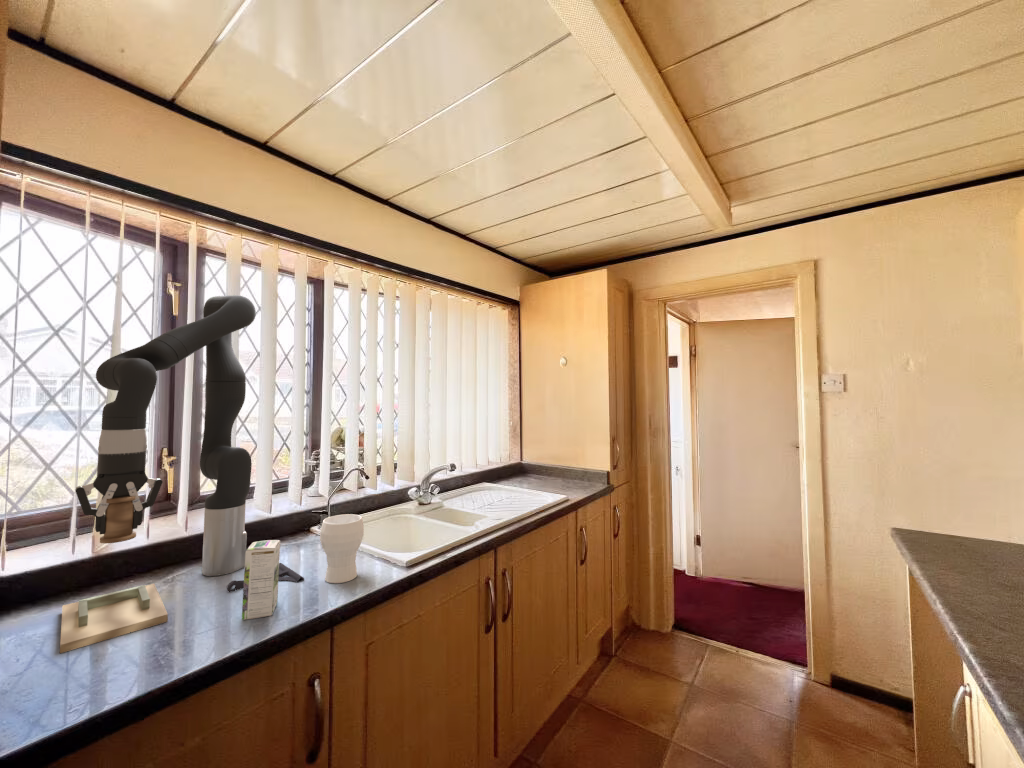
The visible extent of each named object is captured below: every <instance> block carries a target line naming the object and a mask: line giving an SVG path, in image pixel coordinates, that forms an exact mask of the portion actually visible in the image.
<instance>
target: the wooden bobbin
mask: <svg viewBox="0 0 1024 768" xmlns="http://www.w3.org/2000/svg"><path fill="white" fill-rule="evenodd" d="M101 499H102V500H103V498H102V497H101ZM133 500H135V496H131V497H130V496H127V497H118V498H112V499H106V503H109V505H108V506H107V509H106V511H105V513H104V514H105V516H106V518H105V534H103V535H102V536H100V537H99V543H100V544H114V543H115V544H116V543H121V542H127V541H129V540H133V539H136V537H137V531H134V529H133V517H134V505H133V502H132V501H133Z"/></svg>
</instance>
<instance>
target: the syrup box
mask: <svg viewBox="0 0 1024 768" xmlns="http://www.w3.org/2000/svg"><path fill="white" fill-rule="evenodd" d="M280 549H281V540H279V539H267V540H265V539H264V540H259V541H253V542H251V544H250V545H249V546H248V548H246V553H245V567H244V574H243V580H244V587H243V588H242V589H243V591H242V610H241V620H242V621H245V620H252V619H253V620H254V619H258V618H264V617H270V616H271V617H272V616H273V614H274V612H275V610H276V608H277V607H276V606H277V605H278V596H279V595H278V594H279V581H278V578H279V563H280V555H281V550H280Z"/></svg>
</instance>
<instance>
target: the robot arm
mask: <svg viewBox="0 0 1024 768" xmlns="http://www.w3.org/2000/svg"><path fill="white" fill-rule="evenodd" d="M202 310H203V313H202V314H203V318H200V319H198V320H195V321H192V322H189V323H187V324H184V325H183V324H182V325H181V326H177V327H175V328H173V329H170V330H168V331H166V332H164V333H162V334H161V335H158V336H157V337H155V338H153V339H151V340H150V341H148V342H146V343H145V344H143V345H140V346H138V347H135V348H132V349H129V350H126V351H125V352H121V353H119V354H115V355H114V356H112V357H109V358H108V359H106V360H104V361H103V362H102V363H101V364H100V365H99V366H98V368H97V369H96V372H95V378H96V381H97V383H98V384H99V385H100V386H101V387H103V388H104V389H107V390H111V391H115V392H117V394H116V397H115V400H113V401H110V402H108V403H107V404H105V405H104V406H103V408H102V414H101V432H100V436H99V438H98V447H97V451H98V452H97V455H98V456H97V465H96V466H97V470H96V471H97V472H96V477H95V479H94V480H93V482H92V483H88V484H85V485H78V486H76V487H75V493H76V497H77V499H78V501H79V504H80V507H81V510H82V513H83V514H84V516H94V517H95V522H94V529H95V532H96V533H99V535H104V534H105V518H106V516H105V511H106V509H107V506H108V505H109V503H106V499H112V498H118V497H127V496H130V497H131V496H135V500H133V501H132V502H133V505H134V517H133V530H137V529H138V527H139V526H141V525H142V522H143V511H144V510H145V509H148V508H150V507H153V506H154V504H155V502H156V500H157V497H158V494H159V493H160V489H161V487H162V485H163V480H162V479H161V478H159V477H158V478H153V477H152V478H151V477H148V476H147V474H146V465H147V464H146V462H147V461H146V459H147V458H146V457H147V456H146V455H147V448H148V445H147V441H148V439H147V412H148V411H147V410H148V408H149V406H150V403H151V401H152V398H153V396H154V393H155V390H156V387H157V383H158V374H157V372H158V371H163V370H167V369H168V370H169V369H171V368H172V367H174V366H176V365H177V364H179V363H180V362H182V361H183V360H185V359H186V358H188V357H189V356H191V355H193V354H194V353H196V352H197V351H199V350H201V349H202V348H204V347H205V357H206V358H205V362H206V363H205V364H206V365H205V367H206V368H205V387H204V388H205V389H204V390H205V392H204V394H205V395H204V397H205V399H204V401H205V403H204V405H205V406H204V425H203V427H204V429H203V436H202V444H201V448H200V456H199V469H200V471H201V474H202V475H203V477H205V478H207V479H208V480H209V479H210V480H214V481H216V487H215V491H214V492H213V493H211V494H208V495H207V496H206V497H205V500H204V512H203V513H204V515H203V516H204V517H203V538H202V539H203V541H202V543H203V544H202V561H201V562H202V564H201V575H203V576H206V577H207V576H209V577H215V576H216V577H217V576H223V575H228V574H231V573H234V572H237V571H239V570H241V569H245V553H246V550H247V541H248V540H247V539H248V537H247V536H248V532H247V531H246V530H245V526H246V525H245V524H246V501H247V500H246V499H247V496H248V494H249V492H250V490H251V489H250V488H251V486H250V485H251V478H252V477H251V476H252V467H253V466H252V456H251V454H250V453H249V451H248V450H247V449H245V448H244V447H241V446H240V447H239V446H232V433H233V432H232V430H233V426H234V423H235V421H236V419H237V417H238V415H239V413H240V411H241V410H242V408H243V406H244V405H245V404H244V403H245V401H246V387H247V385H246V384H247V381H246V380H247V379H246V378H247V377H246V374H245V371H244V368H243V366H242V365H241V363H240V361H239V360H238V358H237V356H236V354H235V351H234V348H233V343H232V342H233V340H232V334H233V333H234V332H237V331H240V330H241V329H244V328H246V327H249V326H250V325H251V324H253V322H254V321H255V319H256V314H257V312H256V310H257V309H256V307H255V305H254V303H253V302H252V301H251V299H250V298H247V297H246V296H243V295H238V294H229V295H228V294H227V295H218V296H217V295H215V296H212V297H209V298H208V299H206V302H205V303H204V306H203V309H202ZM146 483H147V484H148V488H149V489H150V490H149V492H148V495H147V497H146V499H145V501H141V499H140V496H139V493H138V492H139V491H140V490H141V489H142V488H143V487H144V486H145V484H146ZM94 488H95V489H96V491H97V492H99V493H100V494H101V495H102V497H101V499H100V501H99V504H98V506H97V507H92V506H91V503H90V500H89V498H88V496H90V495H91V494H92V490H93V489H94ZM102 498H103V500H102Z"/></svg>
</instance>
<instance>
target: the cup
mask: <svg viewBox="0 0 1024 768" xmlns="http://www.w3.org/2000/svg"><path fill="white" fill-rule="evenodd" d="M364 525H365V524H364V521H363V517H362V515H359V514H353V513H350V514H349V513H347V514H346V513H345V514H337V515H332V516H329V517H325V518H324V519H323V520H322V524H321V528H320V530H319V540H320V541H319V542H320V544H321V547H322V549H323V552H324V553H325V555H326V562H327V563H326V564H327V567H326V571H325V577H324V580H325V582H327V583H329V584H341V583H346V582H349V581H352V580H355V578H356V577H357V576H358V571H357V563H356V558H357V552H358V550H359V548H360V546H361V544H362V541H363V540H364V539H363V538H364V535H365V534H364V533H365V532H364V531H365V527H364Z"/></svg>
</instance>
